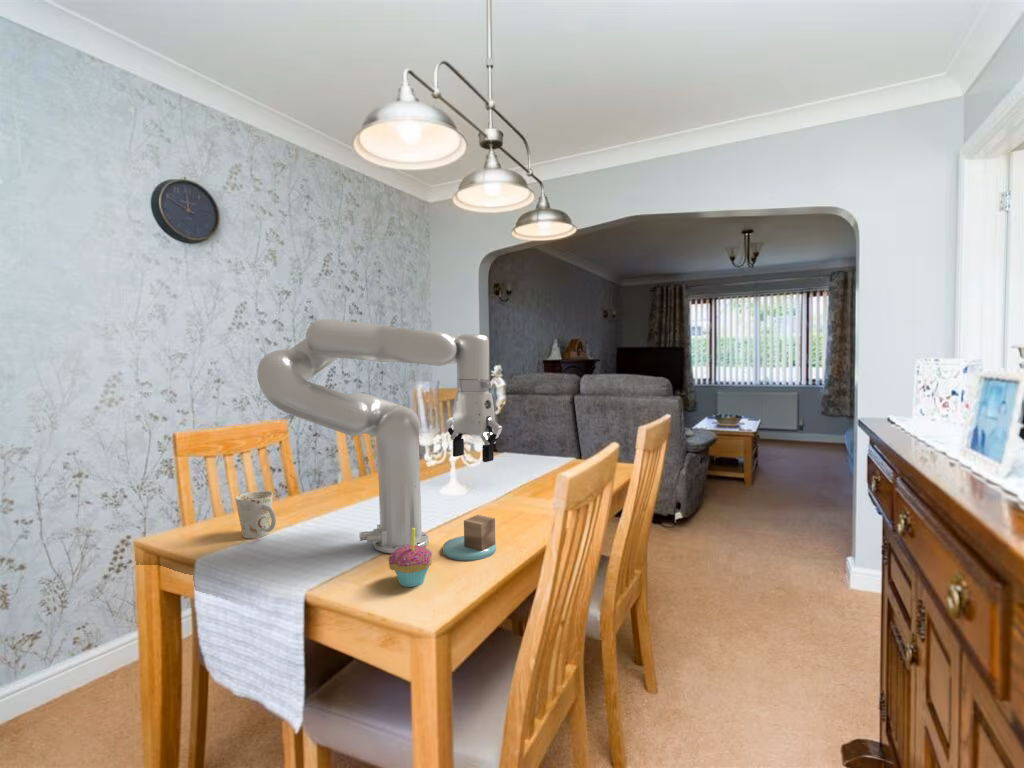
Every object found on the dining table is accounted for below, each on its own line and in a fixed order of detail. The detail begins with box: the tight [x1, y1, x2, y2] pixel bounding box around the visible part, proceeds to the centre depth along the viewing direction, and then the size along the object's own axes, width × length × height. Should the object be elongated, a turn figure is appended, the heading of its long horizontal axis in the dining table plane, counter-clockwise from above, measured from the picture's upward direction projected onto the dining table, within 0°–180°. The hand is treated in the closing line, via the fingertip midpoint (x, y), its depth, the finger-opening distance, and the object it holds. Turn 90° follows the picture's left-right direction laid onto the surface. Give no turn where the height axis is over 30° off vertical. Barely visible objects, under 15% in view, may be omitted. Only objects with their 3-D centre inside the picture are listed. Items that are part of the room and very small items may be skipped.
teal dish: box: [442, 535, 497, 562], centre depth 116 cm, size 12×12×1 cm
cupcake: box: [388, 525, 433, 588], centre depth 100 cm, size 9×8×12 cm
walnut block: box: [463, 514, 496, 551], centre depth 116 cm, size 5×5×6 cm
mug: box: [235, 490, 277, 539], centre depth 128 cm, size 8×13×10 cm, turn 60°
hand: (472, 458), depth 122 cm, fingers open, 9 cm apart
